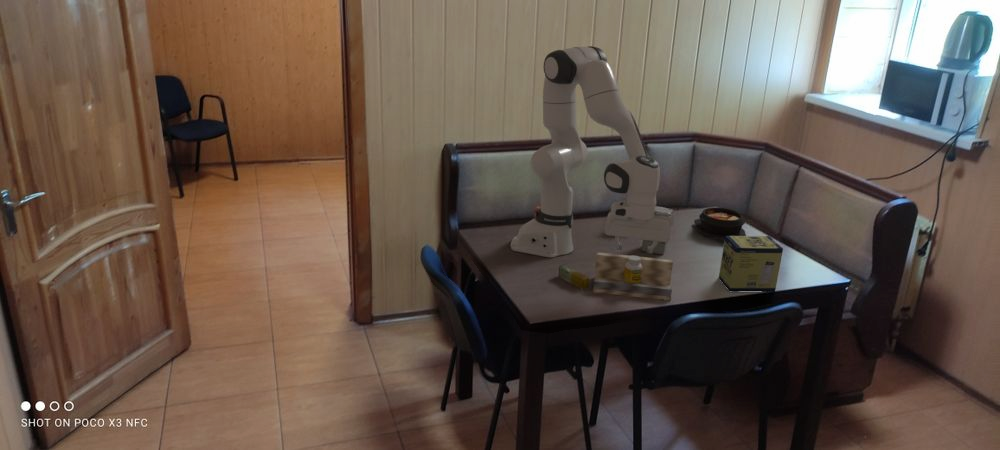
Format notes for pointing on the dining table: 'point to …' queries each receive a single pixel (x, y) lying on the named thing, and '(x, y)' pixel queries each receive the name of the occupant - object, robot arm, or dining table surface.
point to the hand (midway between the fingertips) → (634, 250)
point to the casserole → (720, 223)
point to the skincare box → (660, 246)
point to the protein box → (750, 263)
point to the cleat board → (651, 284)
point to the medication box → (574, 277)
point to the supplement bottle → (633, 270)
